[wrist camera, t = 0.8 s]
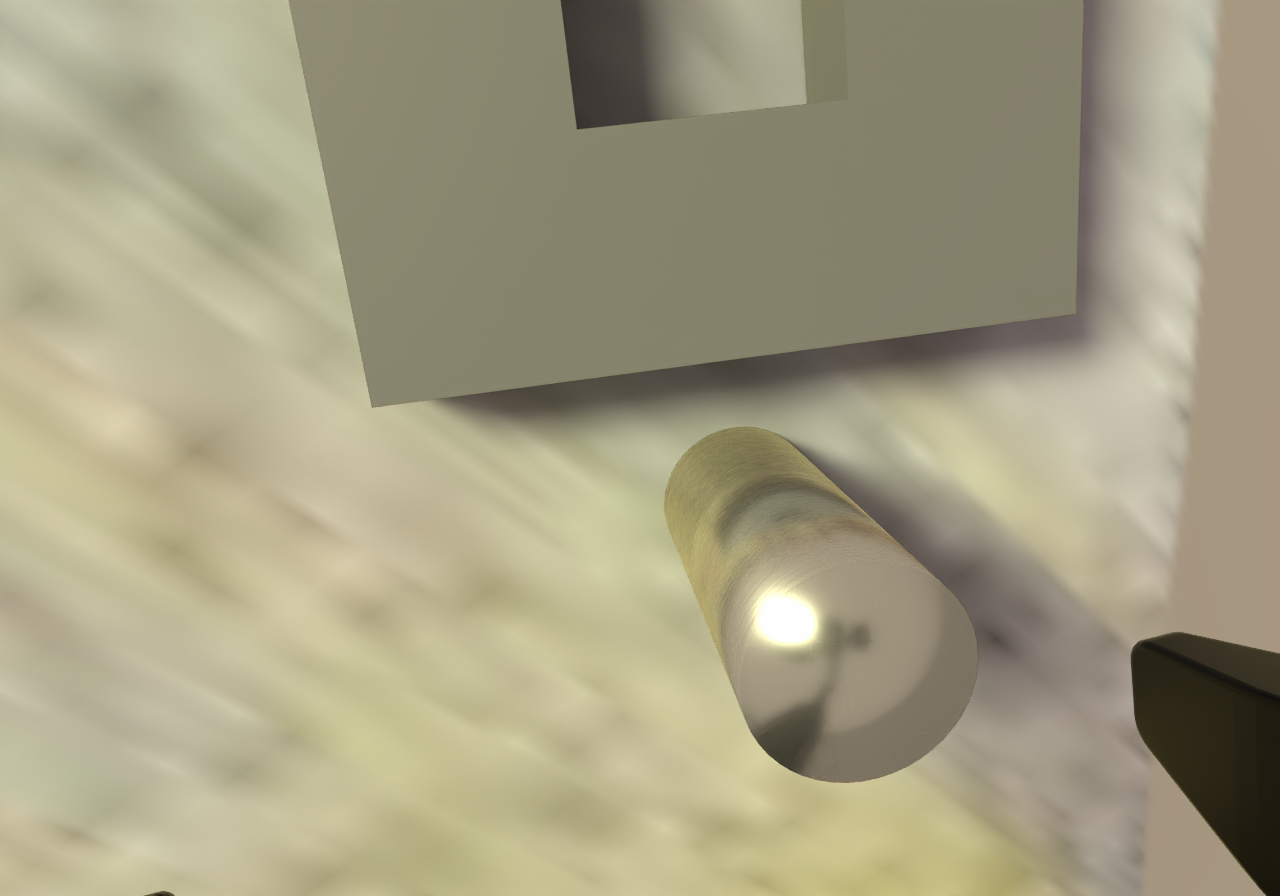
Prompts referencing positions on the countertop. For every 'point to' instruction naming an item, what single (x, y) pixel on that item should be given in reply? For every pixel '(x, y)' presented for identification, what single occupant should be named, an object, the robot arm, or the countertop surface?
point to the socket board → (688, 191)
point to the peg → (817, 611)
